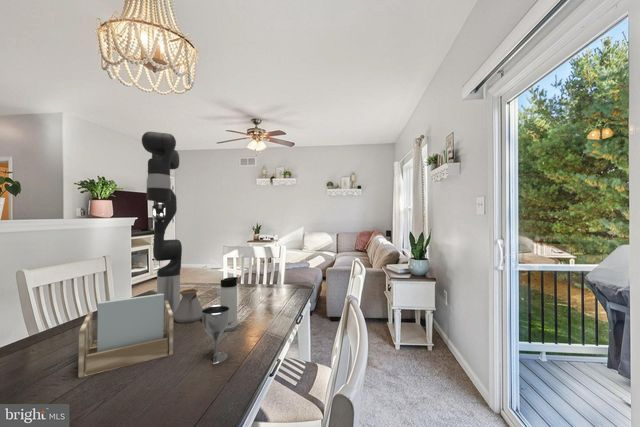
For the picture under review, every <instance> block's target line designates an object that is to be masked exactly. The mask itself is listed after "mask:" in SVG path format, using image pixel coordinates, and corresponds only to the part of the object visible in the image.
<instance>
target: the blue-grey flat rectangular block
mask: <svg viewBox="0 0 640 427" xmlns="http://www.w3.org/2000/svg"><path fill="white" fill-rule="evenodd" d="M163 331H164V294H157V293H155V294H149V295H143V296H141V295H140V296H134V297H129V298H128V297H127V298H120V299H113V300H106V301H98V302H97V333H96V334H97V336H96V337H97V339H96V340H97V353H98V352H102V351H107V350H112V349H117V348H121V347H126V346H131V345H135V344H140V343H145V342H149V341H154V340H159V339H163Z"/></svg>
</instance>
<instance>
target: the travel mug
mask: <svg viewBox="0 0 640 427" xmlns="http://www.w3.org/2000/svg"><path fill="white" fill-rule="evenodd" d="M238 279H239V278H238V276H231V277H225V278H223V279H220V286H219V290H220V292H219V293H220V297H219V298H220V299H219V300H220V302H219V303H220V304H219V305H223V306H228V307H229V320H228V324H227V327H226V329H225V330H224V331H223V332H231V331H234V330H236V329H237V328H238Z"/></svg>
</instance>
